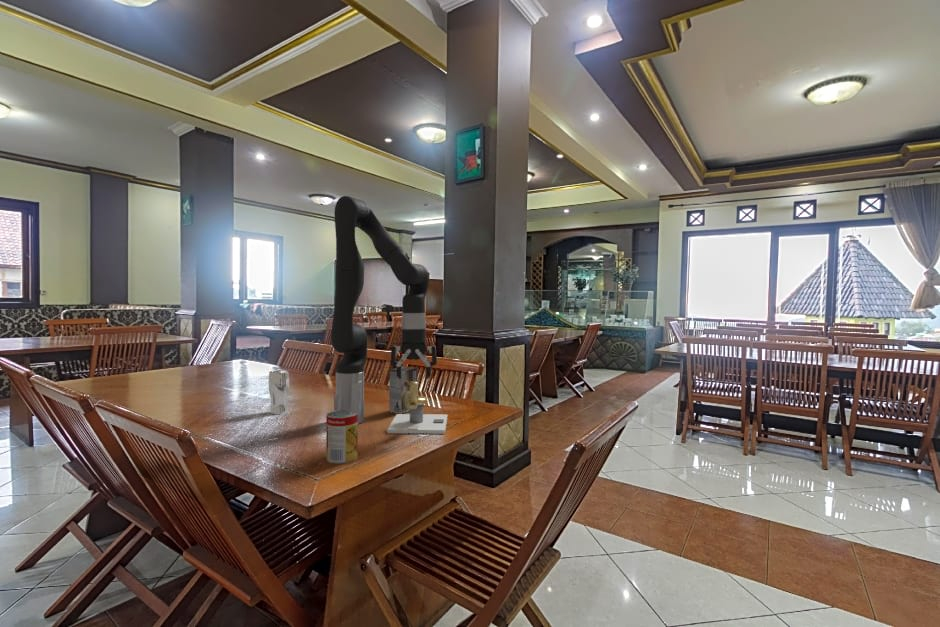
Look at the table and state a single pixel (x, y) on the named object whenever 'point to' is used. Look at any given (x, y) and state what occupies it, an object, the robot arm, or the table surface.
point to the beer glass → (278, 391)
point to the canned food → (342, 436)
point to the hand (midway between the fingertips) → (413, 378)
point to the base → (423, 426)
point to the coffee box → (400, 389)
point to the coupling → (415, 396)
